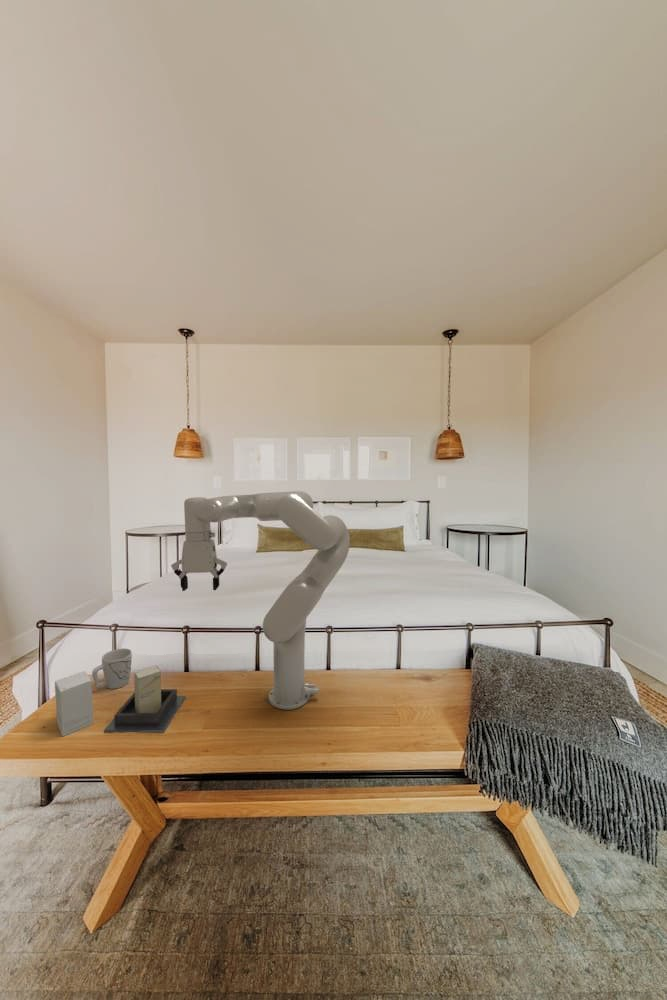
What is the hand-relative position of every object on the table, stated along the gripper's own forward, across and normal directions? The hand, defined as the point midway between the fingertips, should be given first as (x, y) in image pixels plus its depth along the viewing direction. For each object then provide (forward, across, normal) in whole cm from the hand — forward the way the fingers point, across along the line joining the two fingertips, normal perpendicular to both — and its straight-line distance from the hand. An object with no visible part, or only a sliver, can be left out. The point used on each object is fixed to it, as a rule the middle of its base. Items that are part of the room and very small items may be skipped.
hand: (200, 589), depth 118 cm
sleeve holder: (+32, +12, +14) cm, 37 cm away
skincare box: (+32, +12, +14) cm, 36 cm away
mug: (+32, +30, -1) cm, 44 cm away
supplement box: (+32, +30, +17) cm, 47 cm away
